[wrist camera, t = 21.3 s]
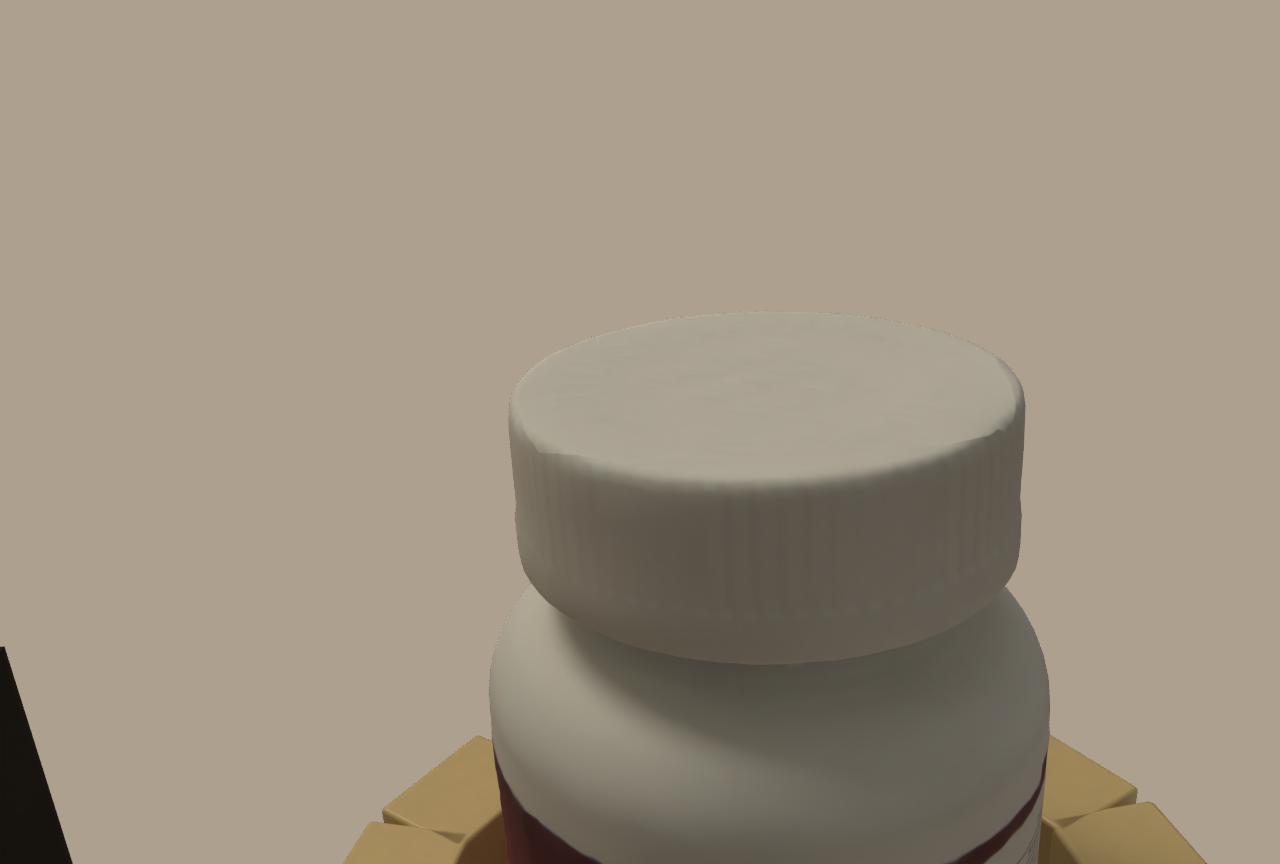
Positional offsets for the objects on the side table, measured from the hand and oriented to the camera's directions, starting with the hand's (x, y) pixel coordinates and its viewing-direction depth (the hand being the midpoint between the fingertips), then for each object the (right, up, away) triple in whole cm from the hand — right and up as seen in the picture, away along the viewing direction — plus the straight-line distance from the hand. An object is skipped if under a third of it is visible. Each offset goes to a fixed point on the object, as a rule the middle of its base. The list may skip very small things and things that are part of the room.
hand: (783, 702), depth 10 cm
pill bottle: (+1, -8, +6) cm, 9 cm away
